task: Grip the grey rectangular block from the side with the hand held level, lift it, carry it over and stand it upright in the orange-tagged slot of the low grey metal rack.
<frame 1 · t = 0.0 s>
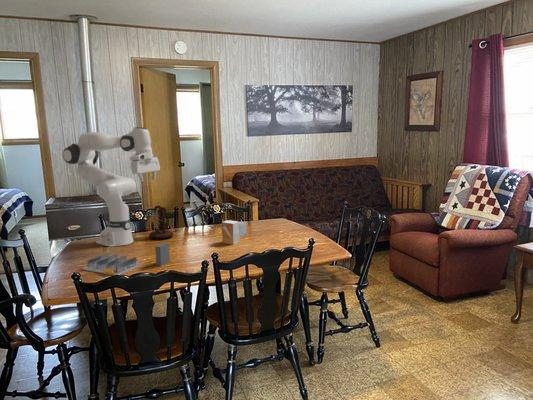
hand: (148, 180, 224), 39 cm above the table, tool pointing down, fingers open, 8 cm apart
rack: (112, 267, 196), on the table
brown statue: (161, 237, 251), on the table
small box: (230, 243, 237), on the table
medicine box: (240, 236, 253), on the table
grey rectangular block: (163, 263, 201), on the table
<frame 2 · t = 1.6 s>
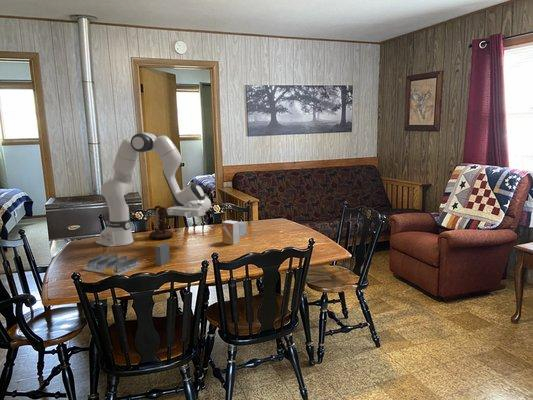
hand: (176, 214, 209), 23 cm above the table, tool horizontal, fingers open, 8 cm apart
nothing on the table moved.
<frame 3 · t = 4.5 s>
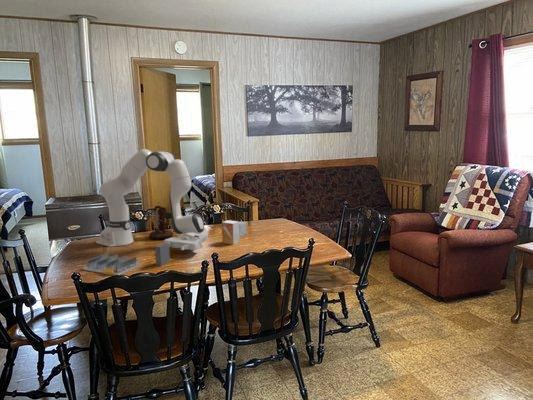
hand: (173, 247, 208), 6 cm above the table, tool horizontal, fingers open, 8 cm apart
nothing on the table moved.
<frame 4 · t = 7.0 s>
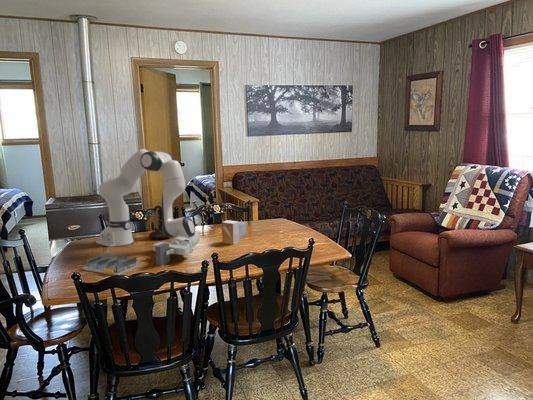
hand: (162, 252, 200), 6 cm above the table, tool horizontal, fingers closed on grey rectangular block, 3 cm apart
grey rectangular block: (163, 263, 201), on the table, touching gripper
everything else where it was.
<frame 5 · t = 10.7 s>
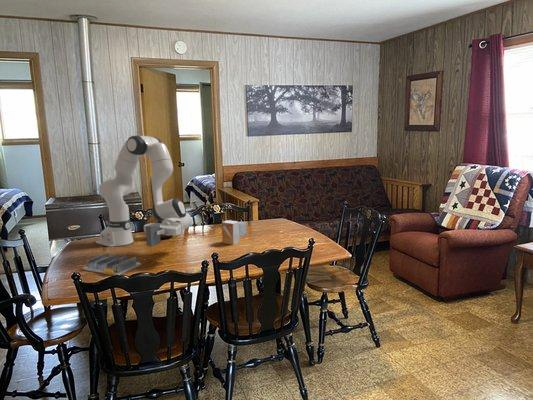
hand: (152, 232, 197), 17 cm above the table, tool horizontal, fingers closed on grey rectangular block, 3 cm apart
grey rectangular block: (153, 244, 198), point 11 cm above the table, touching gripper
everything else where it was.
when the fingers open (8 cm above the table, at t = 13.9 s): grey rectangular block drops 1 cm, resting on rack.
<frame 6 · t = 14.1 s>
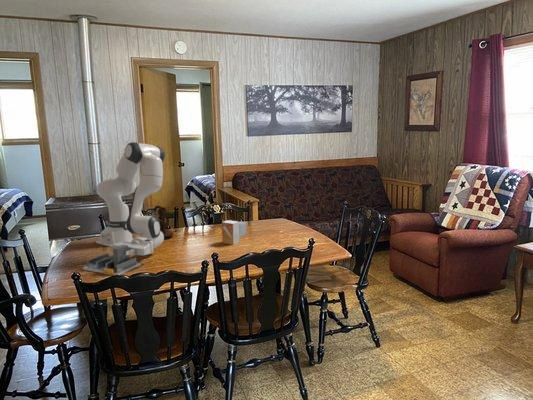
hand: (120, 252, 192), 8 cm above the table, tool horizontal, fingers open, 5 cm apart
grey rectangular block: (121, 266, 194), point 1 cm above the table, touching rack
everything else where it was.
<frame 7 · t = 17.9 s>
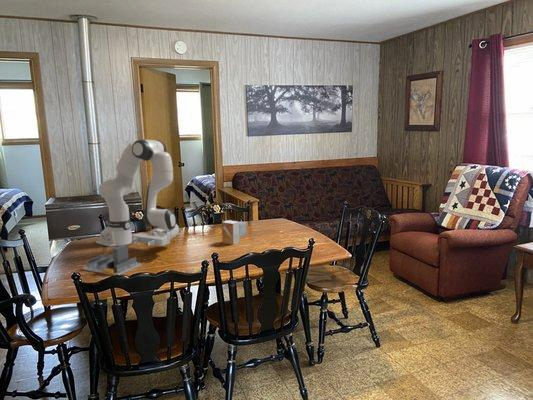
hand: (139, 243, 205), 9 cm above the table, tool horizontal, fingers open, 8 cm apart
nothing on the table moved.
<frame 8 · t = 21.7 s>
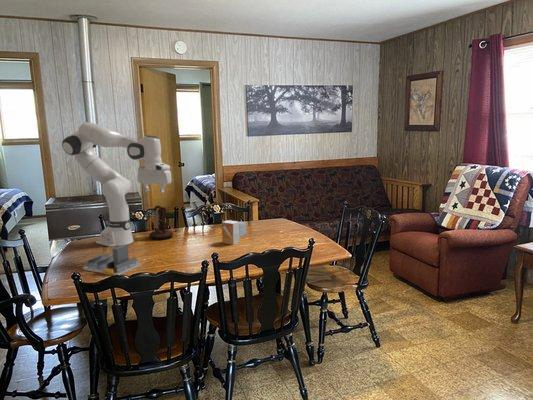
hand: (154, 191, 213), 34 cm above the table, tool pointing down, fingers open, 8 cm apart
nothing on the table moved.
at the end: grey rectangular block 0.0 cm from the target spot on the rack, point 1.2 cm above the rack's base; grey rectangular block tilted 0°; the gripper is holding nothing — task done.
